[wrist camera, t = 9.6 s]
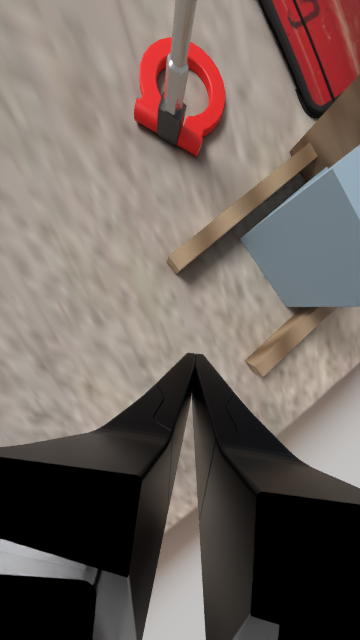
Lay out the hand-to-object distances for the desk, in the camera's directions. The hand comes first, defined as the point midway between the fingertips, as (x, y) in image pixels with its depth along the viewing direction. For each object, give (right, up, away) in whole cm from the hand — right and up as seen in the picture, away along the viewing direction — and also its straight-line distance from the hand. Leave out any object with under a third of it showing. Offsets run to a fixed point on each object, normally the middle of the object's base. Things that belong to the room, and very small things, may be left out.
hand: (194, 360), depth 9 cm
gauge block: (+13, +11, +11) cm, 21 cm away
